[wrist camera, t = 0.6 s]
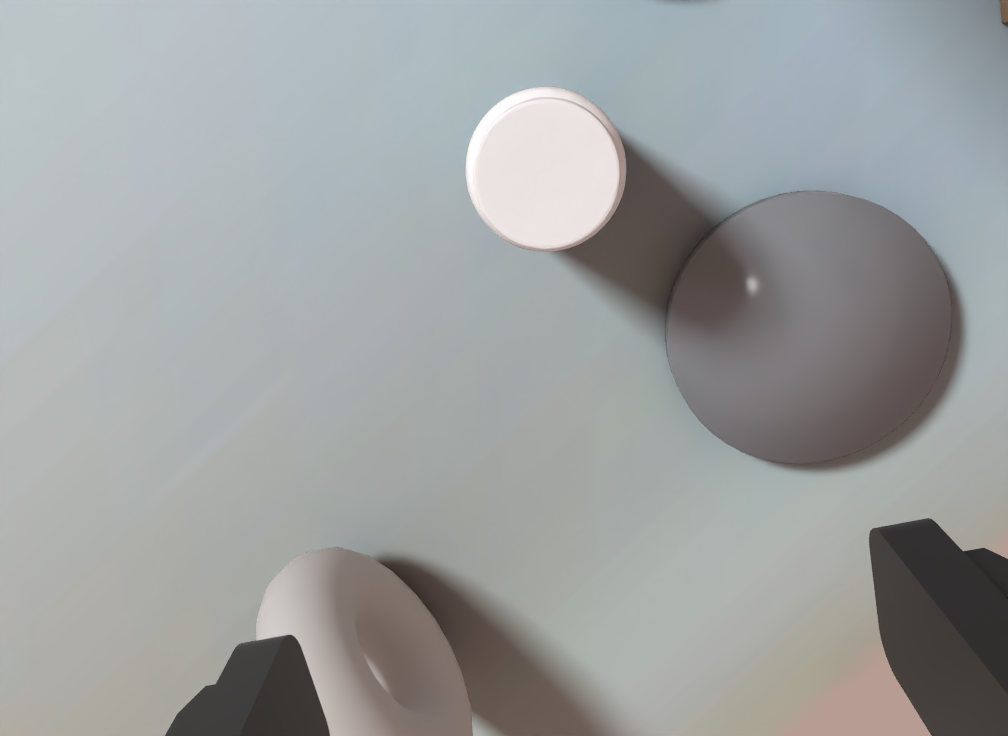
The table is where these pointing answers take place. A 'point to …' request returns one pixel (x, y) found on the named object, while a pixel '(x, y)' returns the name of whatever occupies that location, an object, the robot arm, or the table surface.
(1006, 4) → the balance
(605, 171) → the supplement bottle
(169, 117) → the table surface
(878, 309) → the dish low side
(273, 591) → the donut
